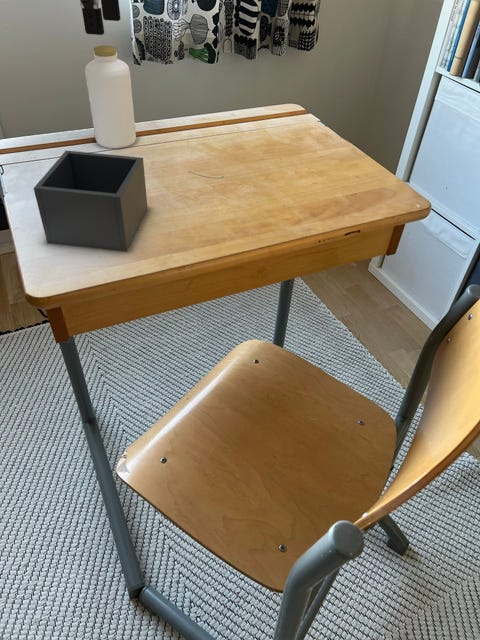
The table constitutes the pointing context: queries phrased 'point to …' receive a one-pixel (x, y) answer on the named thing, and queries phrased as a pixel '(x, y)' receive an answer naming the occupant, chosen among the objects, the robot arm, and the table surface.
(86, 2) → the robot arm
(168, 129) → the table surface
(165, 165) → the table surface
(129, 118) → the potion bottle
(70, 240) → the waste bin
